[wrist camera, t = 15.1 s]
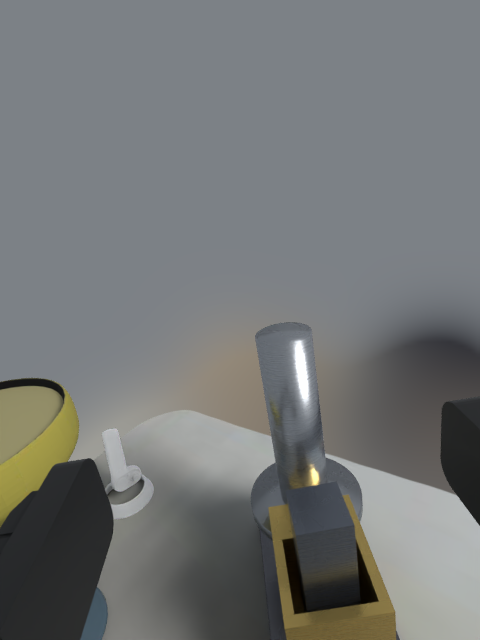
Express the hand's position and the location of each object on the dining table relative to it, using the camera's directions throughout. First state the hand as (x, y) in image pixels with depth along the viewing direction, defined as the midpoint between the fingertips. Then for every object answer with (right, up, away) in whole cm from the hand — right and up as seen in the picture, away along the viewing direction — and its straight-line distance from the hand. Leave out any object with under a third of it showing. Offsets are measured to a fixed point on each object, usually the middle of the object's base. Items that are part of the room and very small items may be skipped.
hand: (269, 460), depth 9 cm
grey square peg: (+7, -25, +24) cm, 36 cm away
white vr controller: (-17, -23, +47) cm, 55 cm away
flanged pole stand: (+8, -24, +29) cm, 39 cm away
